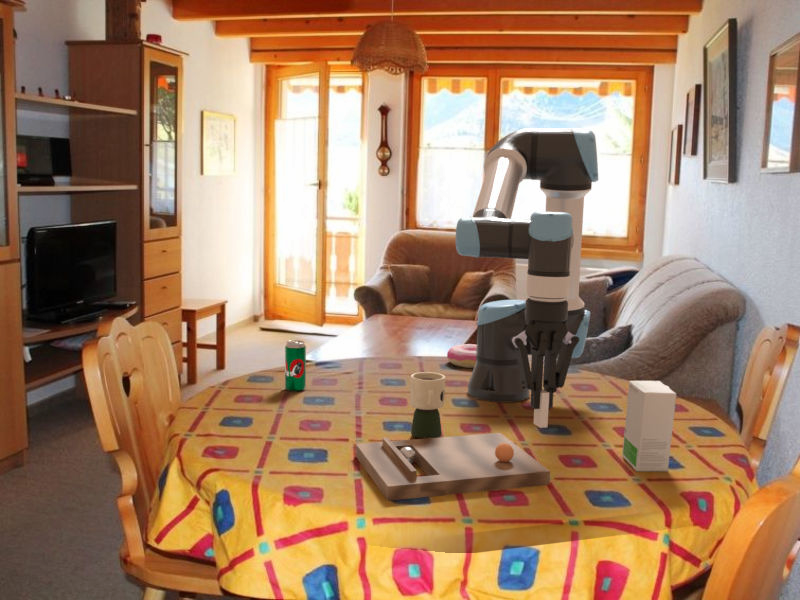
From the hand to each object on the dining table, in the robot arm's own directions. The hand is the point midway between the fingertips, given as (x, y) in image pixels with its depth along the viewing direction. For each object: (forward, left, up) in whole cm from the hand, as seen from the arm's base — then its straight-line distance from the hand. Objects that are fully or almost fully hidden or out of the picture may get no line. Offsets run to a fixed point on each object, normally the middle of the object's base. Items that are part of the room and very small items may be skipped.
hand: (540, 425), depth 153 cm
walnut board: (+16, -5, -9) cm, 19 cm away
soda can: (+34, -66, -9) cm, 75 cm away
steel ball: (+23, -9, -7) cm, 26 cm away
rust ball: (+7, 0, -5) cm, 8 cm away
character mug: (+14, -24, -9) cm, 29 cm away
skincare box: (-22, +1, -9) cm, 24 cm away
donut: (-19, -82, -9) cm, 85 cm away
